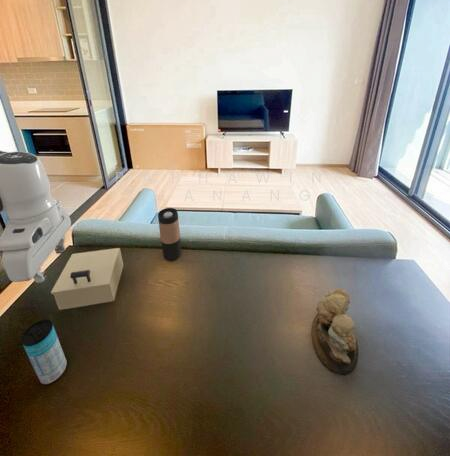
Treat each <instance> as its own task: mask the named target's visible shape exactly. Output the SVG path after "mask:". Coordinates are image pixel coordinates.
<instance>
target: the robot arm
mask: <svg viewBox="0 0 450 456" xmlns="http://www.w3.org/2000/svg"><path fill="white" fill-rule="evenodd" d="M51 187H52V186H51V183H50V179H49V175H48V173H47V170H46V169H45V165H43V163H42V161H41V160H40V158H39V157H38V156H37V155H35V154H34V153H31V152H28V151H21V150H20V151H19V150H18V151H9V152H8V151H4V150H0V213H1V212H5V213H6V215H7V217H8V221H7V223H6V225H5V227H4V229H3V231H2V232H1V234H0V252H2V254H1V262H2V265H3V268H4V270H5V273H6V275H7V277H8V279H9V280H10V282H14V283H21V282H29V281H31V280H32V279H33V280H34V282H35V283H36V284H38V283H39V284H40V283H43V282H44V281H45V280H46V278H47V272H46V271H41V270H42V269H41V268H42V266H43V265H44V264H45V262H46V261H47V259H48V258H49V257H50V255H51V254H52V253H53V251H55V254H57V255H59V254H63V253H64V252H65V250H66V246H65V242H66V241H65V240H66V234H67V232H69V230H70V228H71V227H72V221H71V217H70V215H69V213H68V210H67V208H66V207H65V206H63V203H62V201H60V200H57V199H55V198H54V196H52V193H51Z"/></svg>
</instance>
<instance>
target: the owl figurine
mask: <svg viewBox="0 0 450 456" xmlns="http://www.w3.org/2000/svg"><path fill="white" fill-rule="evenodd" d="M350 304H351V299H350V297H349V294H348V293H347V292H346V291H345V290H344V289H340V288H339V289H338V288H337V289H334V290H332V289H331V290H328V291H327V293H326V294H325V295H324V297H321V298H320V299H319V300H318V302H317V305H316V307H315V311H316V312H317V313H316V315H315V316H314V318H313V321H312V325H311V339H312V345H313V348H314V351H315V353H316V355H317V357H318V359H319V361H320V362H321V363H322V365H323V366H324V367H325V368H327V369H328V370H329V371H330V372H332V373H335V374H337V375H338V374H339V375H343V376H346V375H350V374H351V373H352V372H353V371H354V370H355V369H356V367H357V364H358V360H359V346H358V341H357V337H356V334H355V332H354V330H355V323H354V321H353V318H352V317H350V316H348V315H347V314H346V313H347V311H348V310H349V309H350Z"/></svg>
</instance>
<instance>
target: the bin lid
mask: <svg viewBox="0 0 450 456" xmlns="http://www.w3.org/2000/svg"><path fill="white" fill-rule="evenodd" d="M119 251H121V248H120V247H116V248H108V249H99V250H92V251H85V252H77V253H76V252H75V253H72V254H71V255H70V257H69V259H68V261H67V262H66V264H65V266H64V268H63V270H62V271H61V273H60V275H59V277H58V279H57V280H56V282H55V284H54V286H53V288H52V289H51V291H50V295H54V294H57V293H64V292H71V291H77V290H84V289H90V288H97V287H103V286H109V283H110V280H111V277H112V274H113V271H114V267H115V264H116V261H117V258H118V255H119Z"/></svg>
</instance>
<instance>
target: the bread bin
mask: <svg viewBox="0 0 450 456" xmlns="http://www.w3.org/2000/svg"><path fill="white" fill-rule="evenodd" d="M123 268H124V261H123V257H122V251H121V250H120V251H119V255H118V258H117V261H116V264H115V267H114V271H113V274H112V277H111V280H110V283H109V286H103V287H97V288H90V289H84V290H77V291H71V292H64V293H57V294H53V297H54V300H55V303H56V306H57V308H58V310H59V311H62V310H68V309H69V310H70V309H75V308H80V307H81V308H82V307H87V306H93V305H100V304H104V303H106V304H107V303H112V302H115V299H116V295H117V292H118V287H119V284H120V280H121V276H122V272H123V270H124V269H123Z"/></svg>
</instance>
